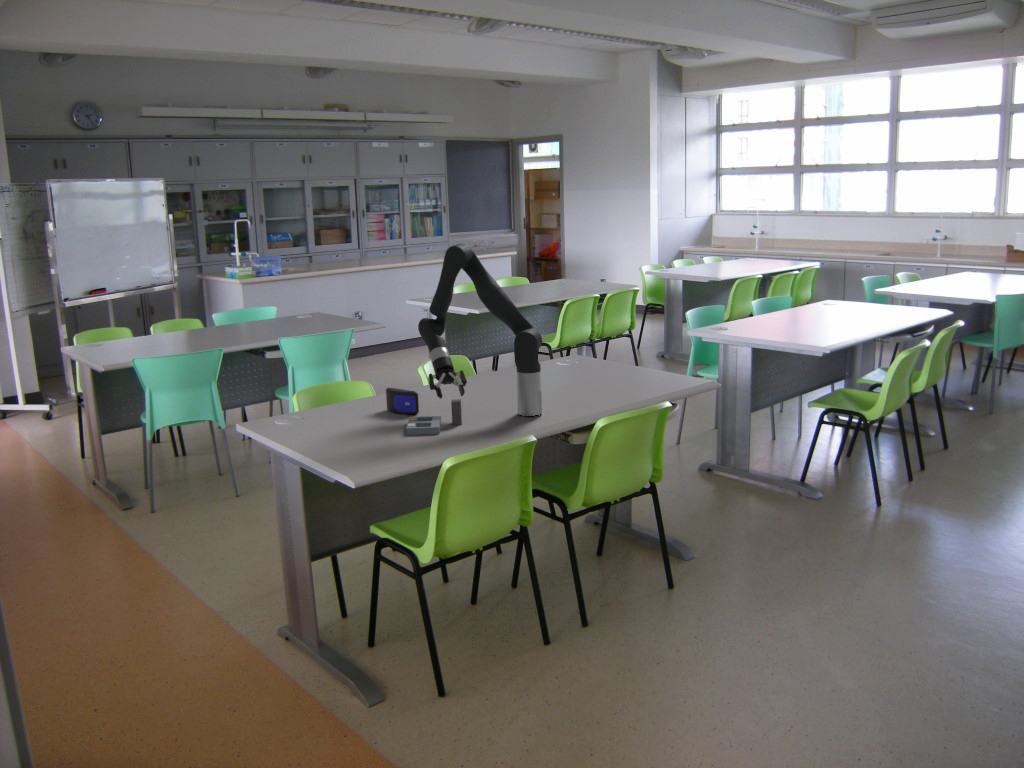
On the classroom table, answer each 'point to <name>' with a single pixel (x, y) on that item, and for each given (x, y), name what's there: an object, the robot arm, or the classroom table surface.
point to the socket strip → (423, 425)
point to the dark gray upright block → (456, 412)
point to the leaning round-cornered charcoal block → (402, 401)
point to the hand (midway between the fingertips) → (451, 396)
